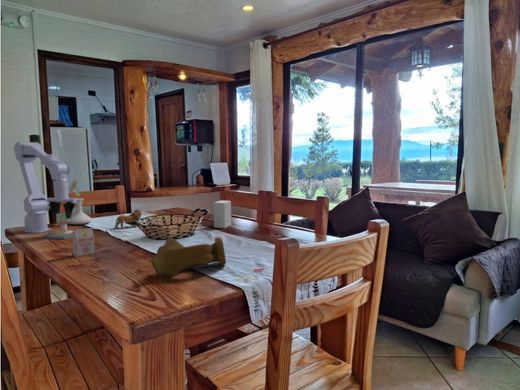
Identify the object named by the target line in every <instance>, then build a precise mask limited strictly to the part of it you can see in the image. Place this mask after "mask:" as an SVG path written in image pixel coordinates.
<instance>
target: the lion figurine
mask: <svg viewBox="0 0 520 390" xmlns="http://www.w3.org/2000/svg"><path fill="white" fill-rule="evenodd" d="M141 218H142V210H141V209H139V208H137V209H136V208H135V210H134V211H133V212H131V213H130V214H128V215H119V216H117V218H116V221H115V226H114V227H113V229H119V225H120V228H121V229H123V230H125V229H126V227H124V223H131V227H133V228H138V225H137V224H136V225H135V224H132V222H134V221H136V222H139V221H140V219H141ZM138 220H139V221H138Z"/></svg>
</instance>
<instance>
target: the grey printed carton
mask: <svg viewBox="0 0 520 390" xmlns="http://www.w3.org/2000/svg"><path fill="white" fill-rule="evenodd" d="M72 230H73V237H72V247H73V249H72V250H73V251H72V252H73V256H74V257H75V258H81V257H86V256H91V255H95V254H96V249H95V248H96V246H95V245H96V244H95V236H94V230H93V227H89V228H82V229H72Z"/></svg>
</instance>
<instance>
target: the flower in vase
mask: <svg viewBox="0 0 520 390" xmlns="http://www.w3.org/2000/svg"><path fill="white" fill-rule="evenodd" d="M77 185H78V178H76V179H74V180H73V181H72V182H71V185H70V186H68V192H69V193H72V192H73V191H74V189H76V190H77V191H76V192H75V196H76V198H75V199H77V203H75V205H76V210H77V211H76V213H75V214H74V215H73V216H71V218H70V221H68V223H69V224H70V225H85V224H89V223H90V222H92V220H93V219H92V218H91V217H90V216H89V215H88V214H86V213H84V212H83V206H82V205H83V201H84V199H85V198H83V197H81V193H80V191H79V189H78V187H77ZM80 197H81V198H80Z"/></svg>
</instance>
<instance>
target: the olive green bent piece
mask: <svg viewBox="0 0 520 390" xmlns="http://www.w3.org/2000/svg"><path fill="white" fill-rule="evenodd" d="M211 263H219V265H220V266H222V267H223V266H225V264H226V263H227V259H226V252H225V247H224V242H223V239H222V238H221V237H215V238H214V243H211V244H208V243H202V244H195V245H189V246H183V244H181V243H180V242H179V241H178V240H176V239H175V238H173V236H172V237H171V236H170V237H167V238H166V240H165V243H164V244H163V245H161V246H159V247H158V249H157V252H156V253H155V255H154V256H153V258H152V260H151V266H152V267H153V269H154V271H155V272H156V274H157V275H159V276H161V277H168V278H172V277H174V276H176V275H177V274H178V273H179V272H180V271H182V270H186V271H187V270H190V269H194V268H198V267H203V266H206V265H210V264H211Z"/></svg>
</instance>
